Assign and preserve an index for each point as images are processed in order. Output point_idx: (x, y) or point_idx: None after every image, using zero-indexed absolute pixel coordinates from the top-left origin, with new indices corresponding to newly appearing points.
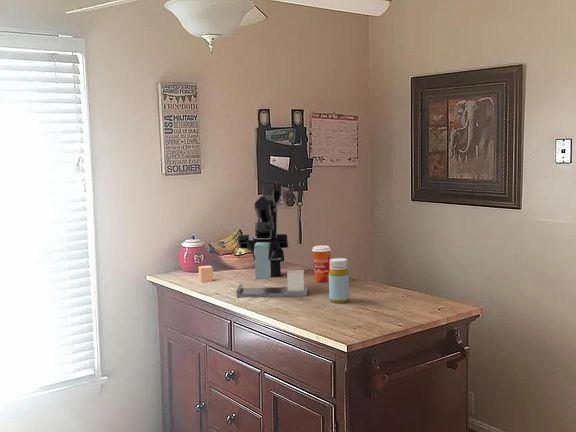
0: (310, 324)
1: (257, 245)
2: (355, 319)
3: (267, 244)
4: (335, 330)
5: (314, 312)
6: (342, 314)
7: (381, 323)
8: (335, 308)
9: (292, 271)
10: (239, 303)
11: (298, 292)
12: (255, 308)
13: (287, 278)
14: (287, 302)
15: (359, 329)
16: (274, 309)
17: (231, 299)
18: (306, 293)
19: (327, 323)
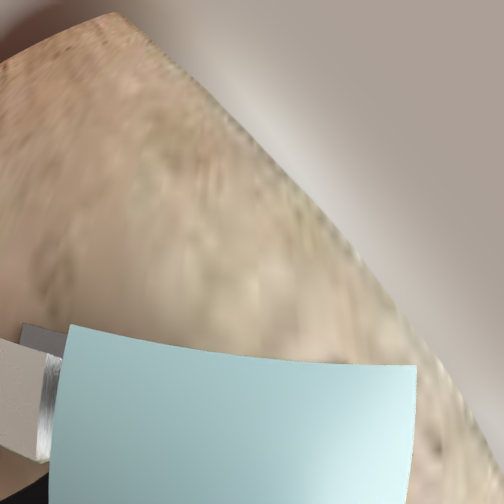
0: (130, 56)
1: (347, 367)
2: (36, 82)
3: (74, 402)
4: (102, 39)
5: (82, 120)
6: (35, 107)
7: (17, 70)
8: (19, 151)
9: (12, 408)
10: (329, 260)
11: (50, 341)
12: (256, 178)
13: (61, 358)
14: (122, 238)
15: (65, 45)
16: (187, 156)
17: (373, 336)
18: (24, 324)
19: (95, 61)
